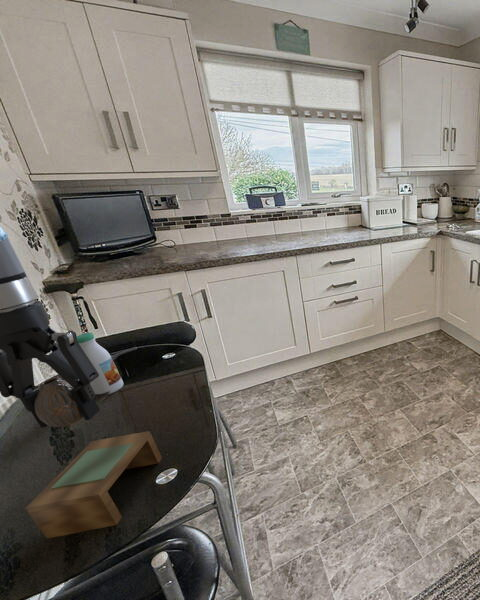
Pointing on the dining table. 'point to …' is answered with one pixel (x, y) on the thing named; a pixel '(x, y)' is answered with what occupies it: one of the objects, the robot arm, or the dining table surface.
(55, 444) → the dining table surface
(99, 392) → the milk bottle
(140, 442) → the shelf
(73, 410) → the vase
